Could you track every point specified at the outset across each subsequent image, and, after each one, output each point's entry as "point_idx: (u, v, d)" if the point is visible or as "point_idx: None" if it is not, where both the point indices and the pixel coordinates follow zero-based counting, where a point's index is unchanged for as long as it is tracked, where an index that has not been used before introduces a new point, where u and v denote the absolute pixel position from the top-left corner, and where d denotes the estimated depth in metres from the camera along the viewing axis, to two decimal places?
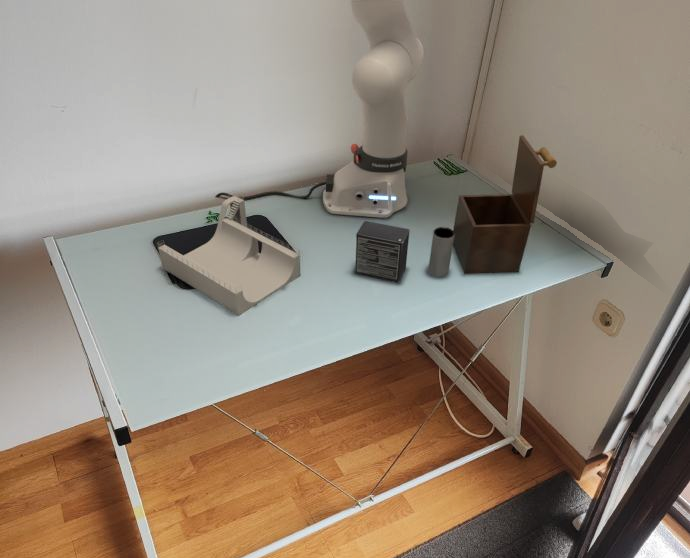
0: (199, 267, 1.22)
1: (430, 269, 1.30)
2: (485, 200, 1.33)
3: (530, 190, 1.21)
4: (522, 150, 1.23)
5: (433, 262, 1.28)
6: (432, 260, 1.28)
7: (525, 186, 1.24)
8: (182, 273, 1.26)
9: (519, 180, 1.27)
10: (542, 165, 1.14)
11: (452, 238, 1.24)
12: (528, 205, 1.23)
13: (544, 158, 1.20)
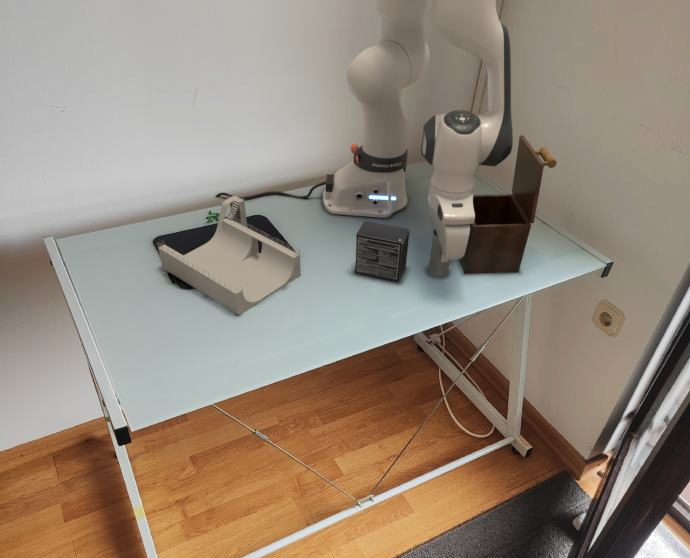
0: (199, 267, 1.22)
1: (430, 269, 1.30)
2: (485, 200, 1.33)
3: (530, 190, 1.21)
4: (522, 150, 1.23)
5: (433, 262, 1.28)
6: (432, 260, 1.28)
7: (525, 186, 1.24)
8: (182, 273, 1.26)
9: (519, 180, 1.27)
10: (542, 165, 1.14)
11: None
12: (528, 205, 1.23)
13: (544, 158, 1.20)
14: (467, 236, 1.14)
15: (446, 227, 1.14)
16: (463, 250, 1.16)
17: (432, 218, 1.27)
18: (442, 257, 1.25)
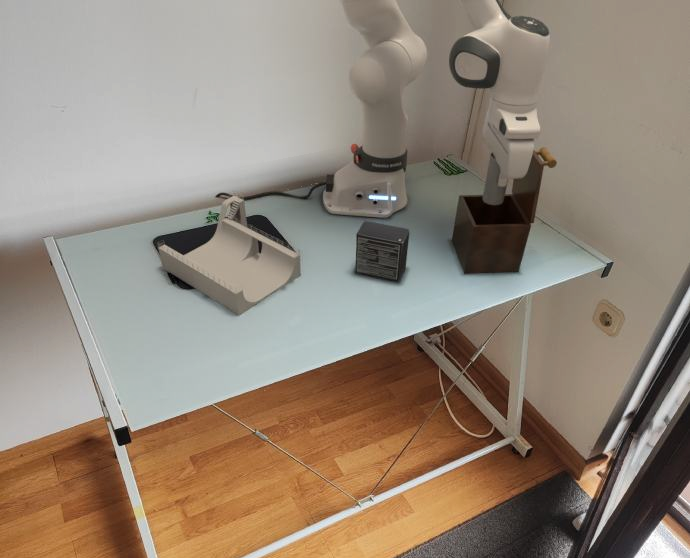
0: (199, 267, 1.22)
1: (485, 197, 1.24)
2: None
3: (530, 190, 1.21)
4: None
5: (489, 188, 1.22)
6: (488, 186, 1.22)
7: (525, 186, 1.24)
8: (183, 273, 1.26)
9: (519, 180, 1.27)
10: (542, 165, 1.14)
11: None
12: (528, 205, 1.23)
13: (544, 158, 1.20)
14: (531, 152, 1.09)
15: (509, 142, 1.08)
16: (526, 167, 1.10)
17: (488, 142, 1.22)
18: (500, 181, 1.19)
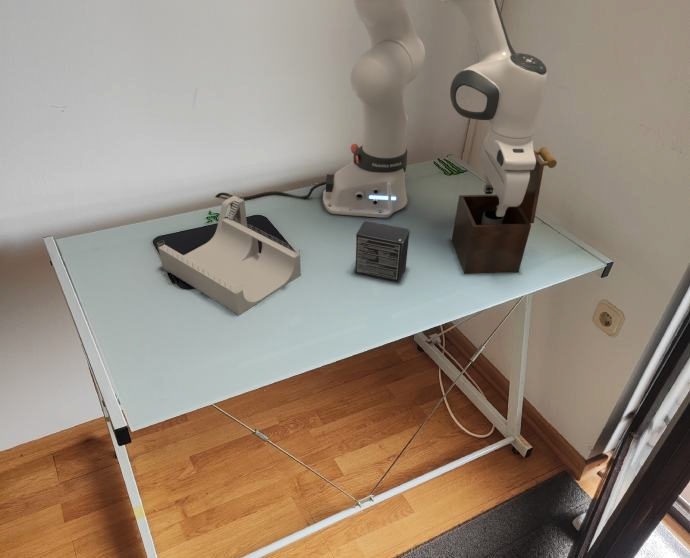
0: (199, 267, 1.22)
1: None
2: (485, 200, 1.33)
3: (530, 190, 1.21)
4: None
5: None
6: None
7: None
8: (183, 273, 1.26)
9: None
10: (542, 165, 1.14)
11: (501, 220, 1.28)
12: (528, 205, 1.23)
13: (544, 158, 1.20)
14: (527, 182, 1.14)
15: (506, 172, 1.13)
16: (521, 197, 1.16)
17: (485, 168, 1.27)
18: (498, 211, 1.23)
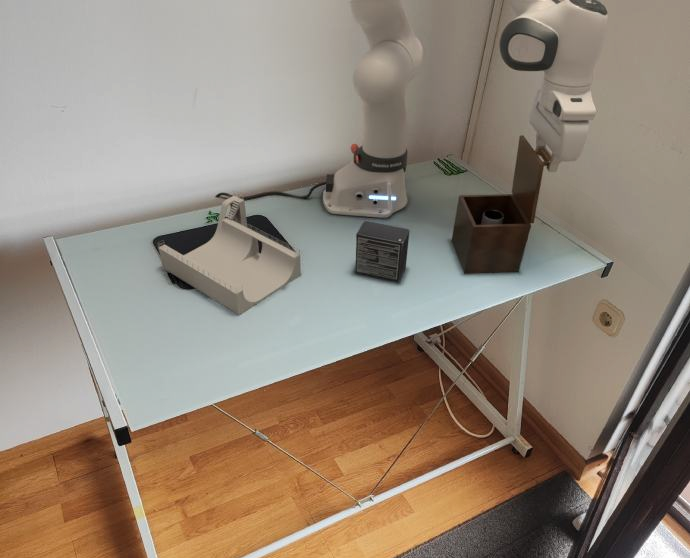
0: (199, 267, 1.22)
1: None
2: (485, 200, 1.33)
3: (530, 190, 1.21)
4: (522, 150, 1.23)
5: None
6: None
7: (525, 186, 1.24)
8: (183, 273, 1.26)
9: (519, 180, 1.27)
10: (542, 165, 1.14)
11: (501, 219, 1.28)
12: (528, 205, 1.23)
13: (544, 158, 1.20)
14: (586, 133, 1.08)
15: (564, 123, 1.07)
16: (580, 150, 1.09)
17: (536, 125, 1.21)
18: (550, 166, 1.17)
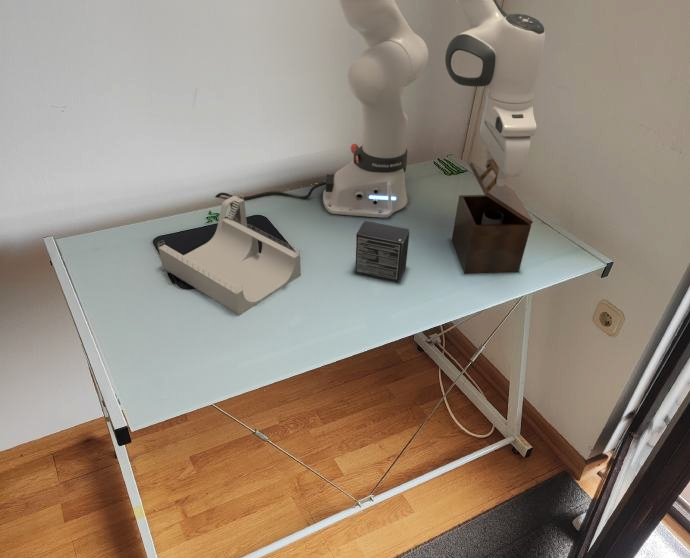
0: (199, 267, 1.22)
1: None
2: (485, 200, 1.33)
3: None
4: None
5: None
6: None
7: None
8: (183, 273, 1.26)
9: None
10: (487, 194, 1.18)
11: (501, 219, 1.28)
12: None
13: None
14: (528, 149, 1.09)
15: (506, 139, 1.08)
16: (523, 165, 1.10)
17: (485, 140, 1.22)
18: (498, 181, 1.18)
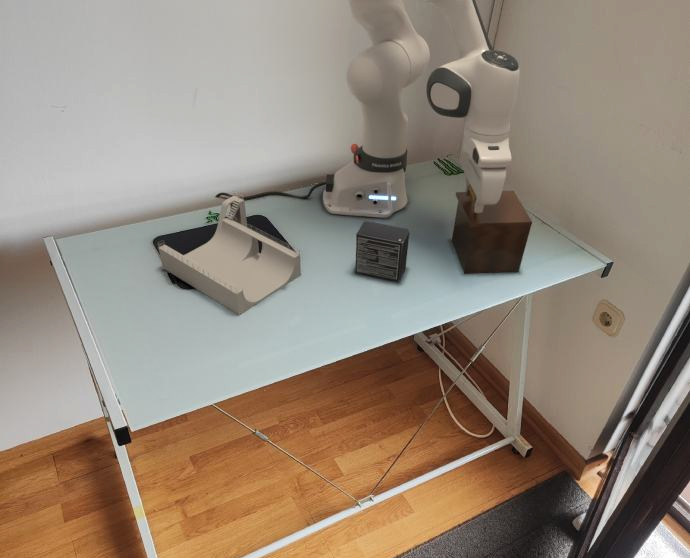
0: (199, 267, 1.22)
1: None
2: None
3: None
4: None
5: None
6: None
7: None
8: (183, 273, 1.26)
9: None
10: (471, 225, 1.22)
11: None
12: None
13: None
14: (503, 180, 1.13)
15: (482, 170, 1.12)
16: (499, 195, 1.14)
17: (464, 167, 1.26)
18: (476, 208, 1.22)
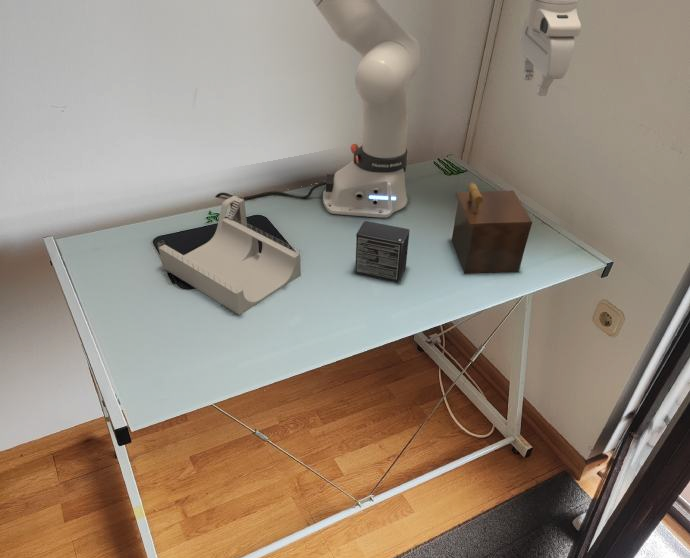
0: (199, 267, 1.22)
1: None
2: None
3: None
4: None
5: None
6: None
7: None
8: (183, 273, 1.26)
9: None
10: (471, 225, 1.22)
11: None
12: None
13: None
14: (572, 49, 1.12)
15: (551, 39, 1.12)
16: (566, 66, 1.14)
17: (525, 50, 1.25)
18: (540, 89, 1.21)
